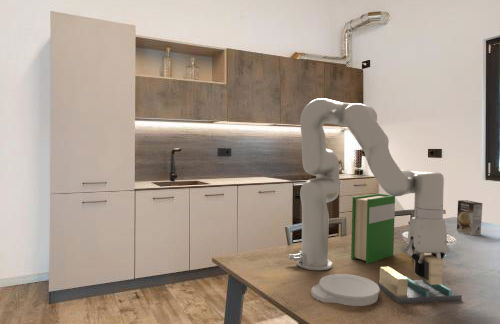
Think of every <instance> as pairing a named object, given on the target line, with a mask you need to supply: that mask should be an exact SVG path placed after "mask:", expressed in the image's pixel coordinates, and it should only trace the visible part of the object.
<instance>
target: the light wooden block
mask: <svg viewBox="0 0 500 324" xmlns="http://www.w3.org/2000/svg"><path fill="white" fill-rule="evenodd" d="M422 263H423V264H424V277H421V276H419V275H417V274H416V272H415V261H414V262H413V264H414V265H413V275H414V276H416V278H419V280H424V281H425V282H427V283H429V284H430V285H435V284H443V264H444V263H443V259H439V258H437V257H435V256H433V255H431V253H424V257H423V262H422Z"/></svg>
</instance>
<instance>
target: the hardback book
mask: <svg viewBox="0 0 500 324" xmlns="http://www.w3.org/2000/svg"><path fill="white" fill-rule="evenodd" d="M351 204H352V205H351V206H352V207H351V208H352V210H351V213H352V214H351V249H350V250H351V251H350V252H351V255H350V258H351V259H352V260H356V259H359V260H362V261H365V264H367V265H368V264H373V263H375V262H378V261H380V260H383V259H386V258H389V257H391V256H394V248H395V247H394V246H395V216H396V215H395V214H396V213H395V211H396V210H395V209H396V206H395V205H396V196H392V195H390V194H387V193H386V194H384V193H383V194H382V193H372V194H366V195H357V196H352V203H351Z"/></svg>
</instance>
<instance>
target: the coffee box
mask: <svg viewBox="0 0 500 324" xmlns="http://www.w3.org/2000/svg"><path fill="white" fill-rule="evenodd" d="M456 216H457V217H456V232H459V233H463V234H466V235H470V236H478V235H479V236H480V234H482V220H483V219H482V216H483V203H482V202H478V201H472V200H462V199H460V200H457V215H456Z"/></svg>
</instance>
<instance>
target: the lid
mask: <svg viewBox="0 0 500 324" xmlns="http://www.w3.org/2000/svg"><path fill="white" fill-rule="evenodd" d="M380 291H381V289H380V288H379V286H378V283H377V282H375V281H373V280H371V279H370V278H367V277H365V276H361V275H356V274H349V273H334V274H333V273H332V274H328V275H324V276H322V278H320V279H319V282H318V284H316V285H313V286H312V288H311V290H310V293H311V296H312V298H314V299H315V298H316V299H315V300H317V301H319V300H320V301H319V302H322V303H332V304H333V303H334V304H341V305H345V306H351V307H352V306H353V307H362V306H370V305H372V304H375V303H376V302H377V301H378V299H379V294H380Z"/></svg>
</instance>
